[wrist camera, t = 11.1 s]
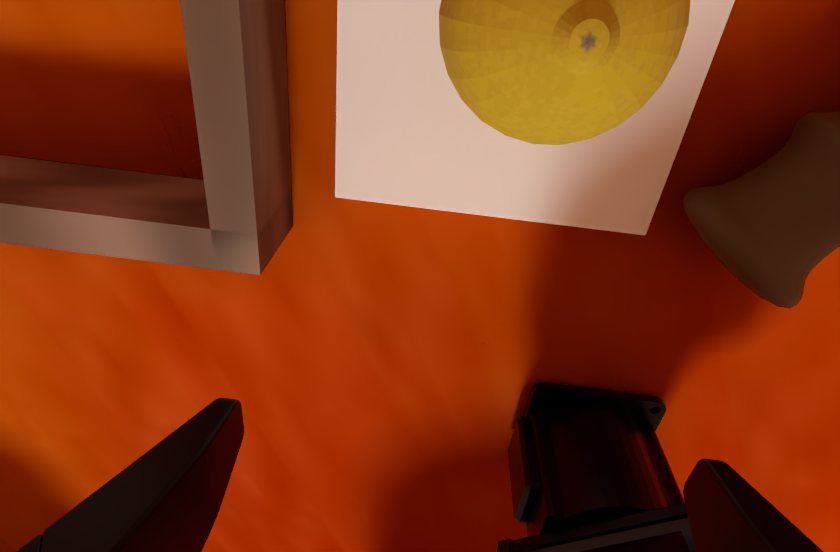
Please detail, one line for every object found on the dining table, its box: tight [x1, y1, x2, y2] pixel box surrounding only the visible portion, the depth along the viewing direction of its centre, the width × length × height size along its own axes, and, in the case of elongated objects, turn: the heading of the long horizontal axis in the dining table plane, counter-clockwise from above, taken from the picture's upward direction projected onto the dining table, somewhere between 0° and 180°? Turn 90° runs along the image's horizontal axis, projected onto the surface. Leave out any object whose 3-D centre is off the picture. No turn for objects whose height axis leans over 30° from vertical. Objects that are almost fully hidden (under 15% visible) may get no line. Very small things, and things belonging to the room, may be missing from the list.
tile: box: [335, 0, 735, 235], centre depth 16 cm, size 12×14×1 cm
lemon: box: [439, 0, 690, 145], centre depth 12 cm, size 6×6×8 cm
